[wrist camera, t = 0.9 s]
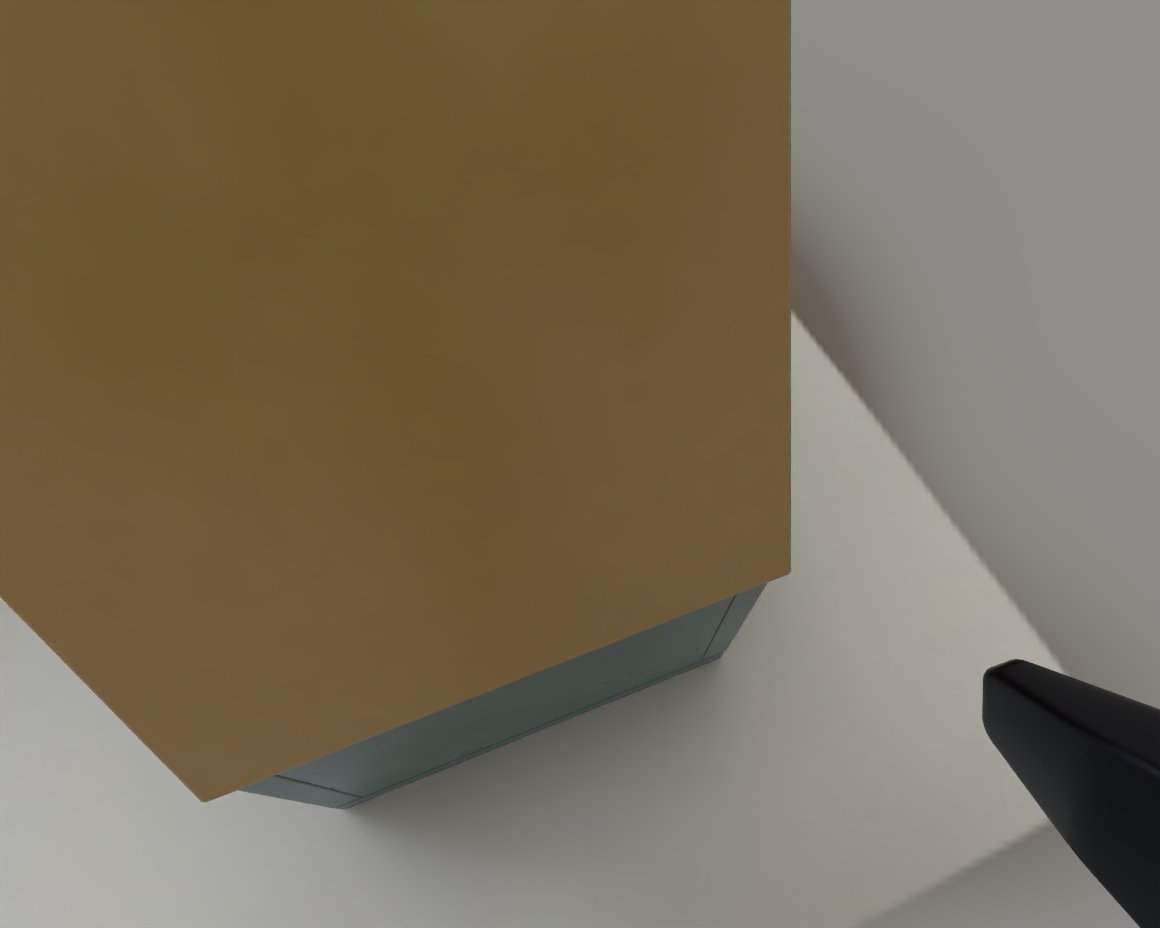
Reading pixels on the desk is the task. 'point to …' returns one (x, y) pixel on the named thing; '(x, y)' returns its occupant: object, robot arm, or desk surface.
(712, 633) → the dark green open box
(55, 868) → the desk surface
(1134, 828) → the robot arm
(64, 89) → the lid
